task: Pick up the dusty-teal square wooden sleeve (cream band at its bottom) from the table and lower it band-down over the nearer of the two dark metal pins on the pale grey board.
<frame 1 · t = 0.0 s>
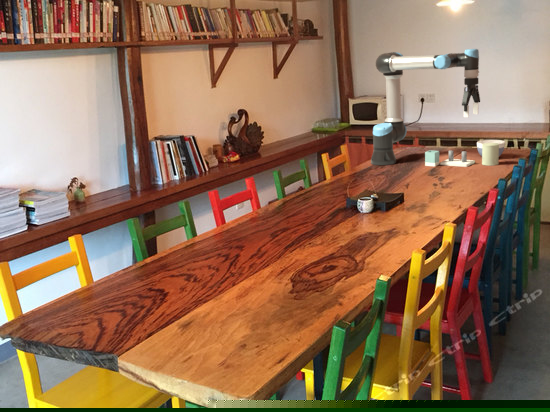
hand: (470, 115, 359), 28 cm above the table, fingers open, 13 cm apart
sleeve: (432, 165, 371), on the table
pinboard: (457, 163, 370), on the table
bowl: (490, 158, 381), on the table
can: (490, 164, 364), on the table
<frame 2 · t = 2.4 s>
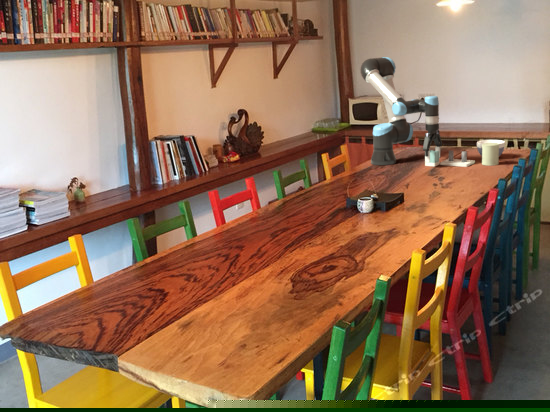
hand: (432, 159, 370), 3 cm above the table, fingers open, 13 cm apart
nothing on the table moved.
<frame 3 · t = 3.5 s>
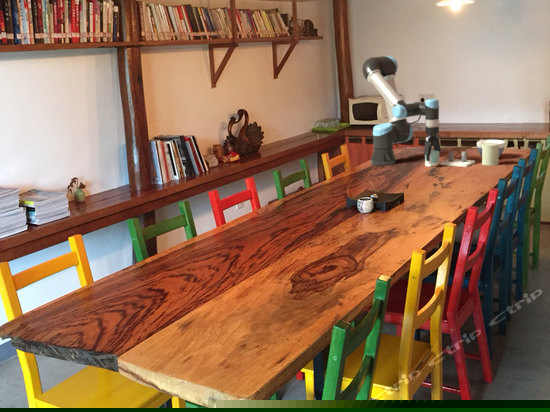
hand: (432, 164, 371), 0 cm above the table, fingers open, 9 cm apart
nothing on the table moved.
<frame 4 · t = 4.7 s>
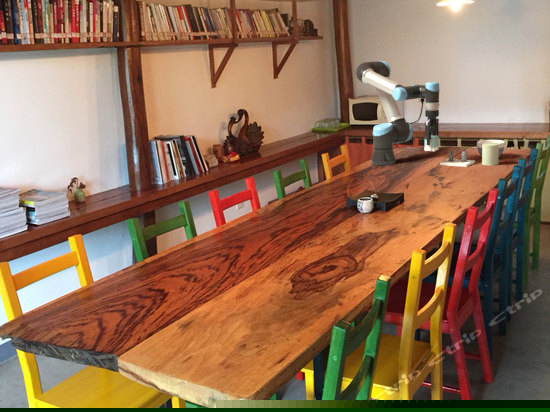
hand: (431, 149, 369), 9 cm above the table, fingers closed on sleeve, 6 cm apart
sleeve: (431, 150, 369), point 9 cm above the table, touching gripper
everything else where it was.
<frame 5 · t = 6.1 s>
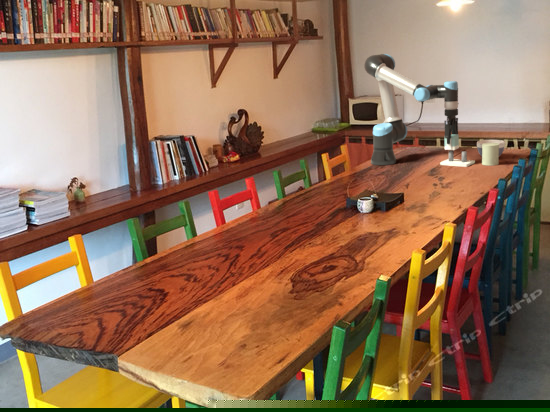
hand: (451, 148, 370), 9 cm above the table, fingers closed on sleeve, 6 cm apart
sleeve: (451, 148, 370), point 9 cm above the table, touching gripper
everything else where it was.
when the fingers open (2 cm above the table, at t = 8.0 s): sleeve stays where it is, resting on pinboard.
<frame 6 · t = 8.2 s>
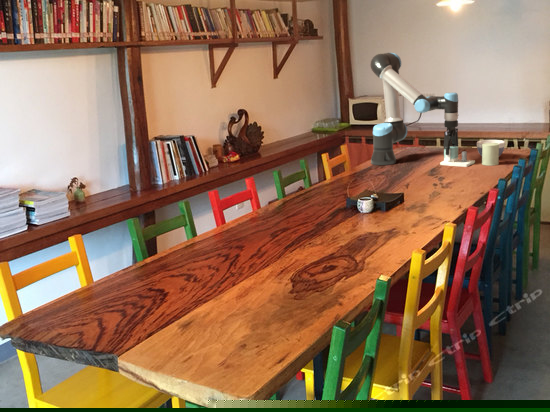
hand: (451, 158, 371), 3 cm above the table, fingers open, 8 cm apart
sleeve: (451, 160, 372), point 1 cm above the table, touching pinboard
everything else where it was.
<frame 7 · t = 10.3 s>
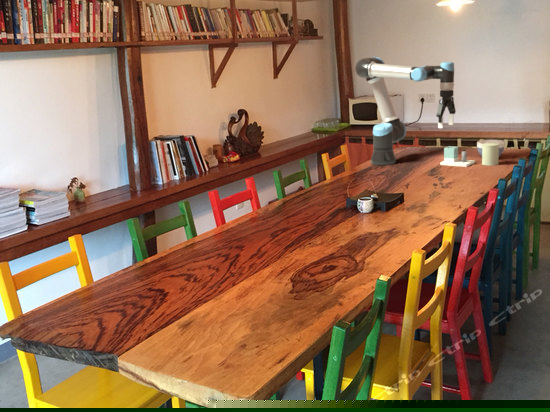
hand: (445, 126, 370), 21 cm above the table, fingers open, 13 cm apart
nothing on the table moved.
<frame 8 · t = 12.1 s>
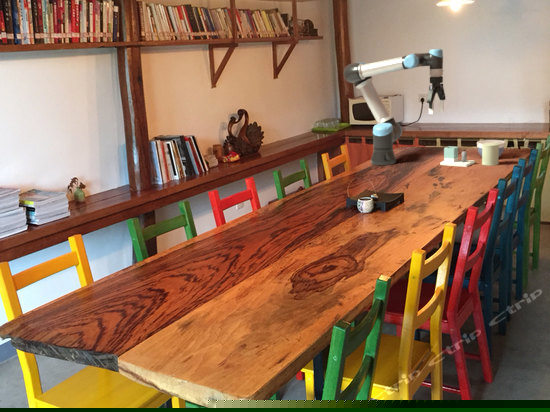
hand: (436, 112, 377), 29 cm above the table, fingers open, 13 cm apart
nothing on the table moved.
at the end: sleeve 0.1 cm from the target spot on the pinboard, point 1.5 cm above the pinboard's base; sleeve tilted 0°; the gripper is holding nothing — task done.
